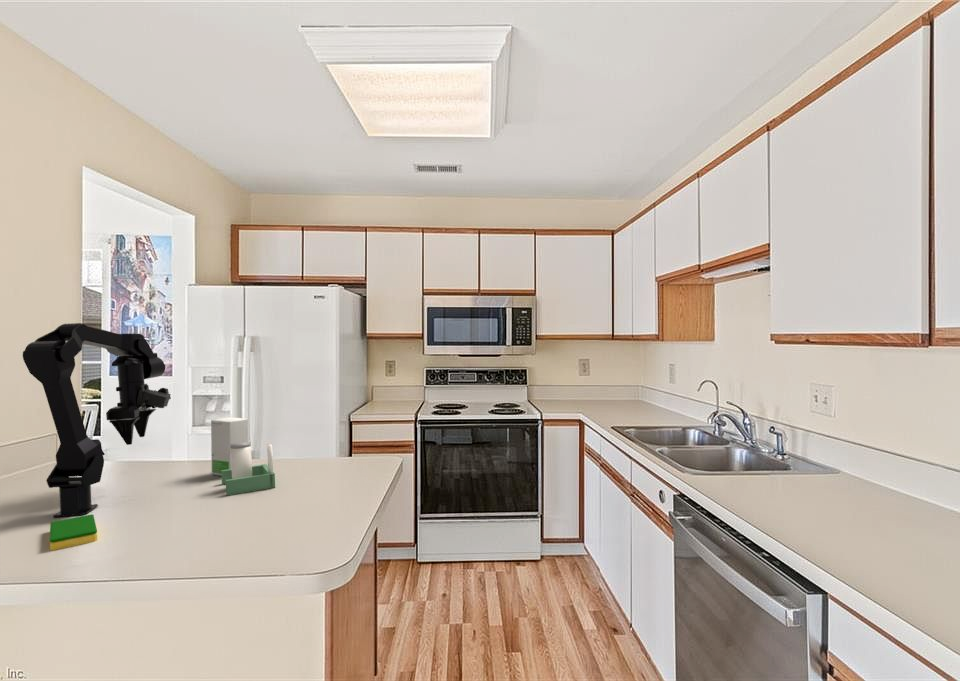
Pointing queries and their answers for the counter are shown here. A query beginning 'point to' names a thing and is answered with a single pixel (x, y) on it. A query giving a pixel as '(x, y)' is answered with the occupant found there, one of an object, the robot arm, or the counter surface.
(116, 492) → the counter surface
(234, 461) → the ball tube
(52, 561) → the counter surface
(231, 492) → the green u-shaped bracket
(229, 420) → the skincare box
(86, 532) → the dish sponge
